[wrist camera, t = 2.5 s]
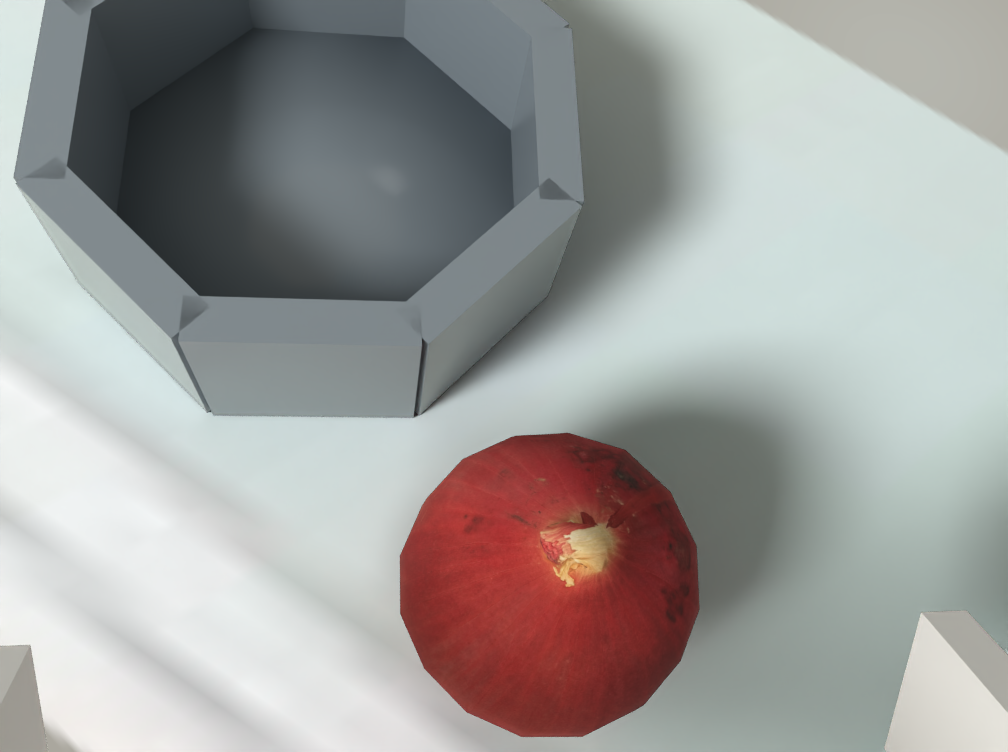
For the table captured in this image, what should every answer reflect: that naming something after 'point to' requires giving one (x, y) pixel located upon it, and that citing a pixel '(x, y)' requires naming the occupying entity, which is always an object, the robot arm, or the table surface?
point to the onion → (549, 584)
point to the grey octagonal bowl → (307, 187)
